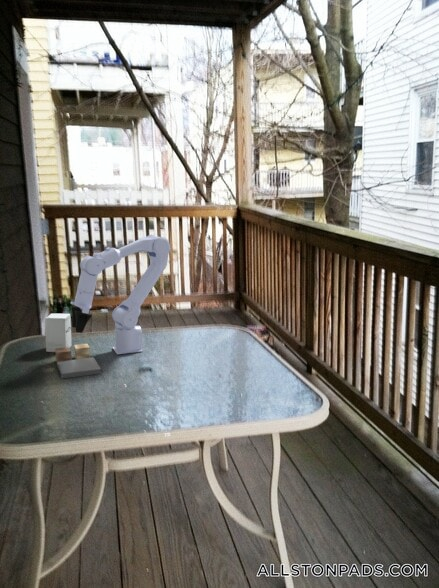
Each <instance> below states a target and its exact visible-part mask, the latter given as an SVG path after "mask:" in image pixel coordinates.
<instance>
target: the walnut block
mask: <svg viewBox="0 0 439 588" xmlns="http://www.w3.org/2000/svg"><path fill="white" fill-rule="evenodd" d="M55 350H56V352H55V362H56V363H57V362H58V361H67V360H72V350H71V347H70V348H69V347H66V348H57V349H55Z"/></svg>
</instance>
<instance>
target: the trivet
mask: <svg viewBox="0 0 439 588" xmlns="http://www.w3.org/2000/svg"><path fill="white" fill-rule="evenodd" d="M56 366H57V369H58V371H59V373H60V376H61V378H62V379H67V378H76V377H83V376H90V375H98V374H101V373H102V369H101V367H100V365H99V363H98V362H97V360H96V359H95V358H94V357H90V358H84V359H71V360H67V361H58V362H56Z"/></svg>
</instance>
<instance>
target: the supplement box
mask: <svg viewBox="0 0 439 588" xmlns="http://www.w3.org/2000/svg"><path fill="white" fill-rule="evenodd" d="M71 317H72V316H71V313H50V314H49V315H48V316H46V317H45V318H44V327H45V351H46V352H48V353H56V350H55V349H57V348H66V347H69V348H70V349H71V347H72V318H71Z"/></svg>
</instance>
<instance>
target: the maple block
mask: <svg viewBox="0 0 439 588" xmlns="http://www.w3.org/2000/svg"><path fill="white" fill-rule="evenodd" d="M90 348H91V347H90V346H89V344H88V343H80V344H79V343H77V344H73V349H74V360H76V359H84V358H91V353H90V350H91V349H90Z"/></svg>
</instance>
